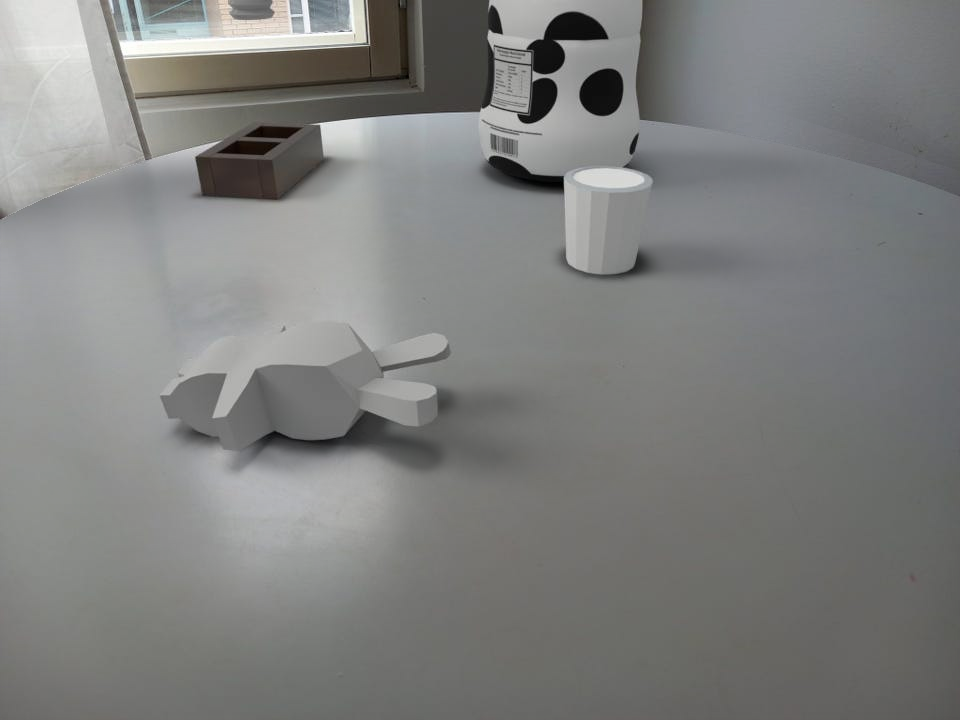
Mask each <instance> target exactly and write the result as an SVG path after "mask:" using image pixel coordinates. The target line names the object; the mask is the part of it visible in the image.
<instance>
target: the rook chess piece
mask: <svg viewBox="0 0 960 720" xmlns="http://www.w3.org/2000/svg"><path fill="white" fill-rule="evenodd" d="M227 3H228V5H229V6H230V7H231V10H230V11H229V15H230V16H231V18H233V19H234V20H236V21H237V20H238V21H261V20H270V19H272V18H273V16H274V15H275V13H276V11H275V10H274V9H272V7H271V6H272V5H273V3H274V1H273V0H228V2H227Z"/></svg>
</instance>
